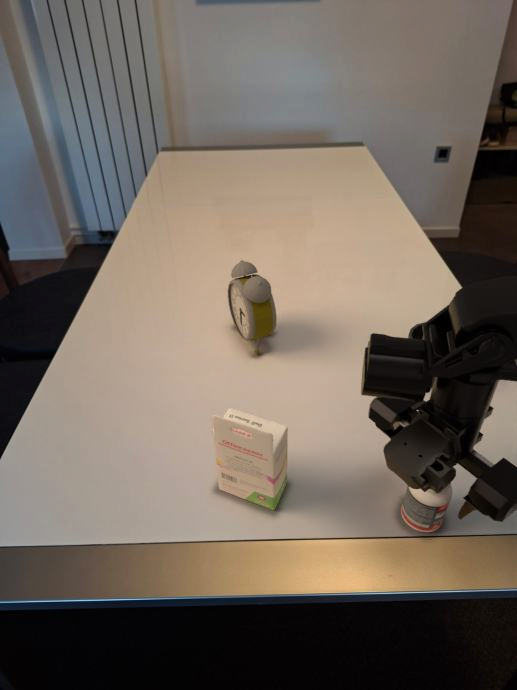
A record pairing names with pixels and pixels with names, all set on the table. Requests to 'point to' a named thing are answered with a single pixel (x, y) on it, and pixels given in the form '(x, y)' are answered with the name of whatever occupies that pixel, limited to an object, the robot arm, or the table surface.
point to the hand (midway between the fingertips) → (430, 490)
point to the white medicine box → (251, 457)
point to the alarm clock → (251, 304)
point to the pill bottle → (425, 508)
